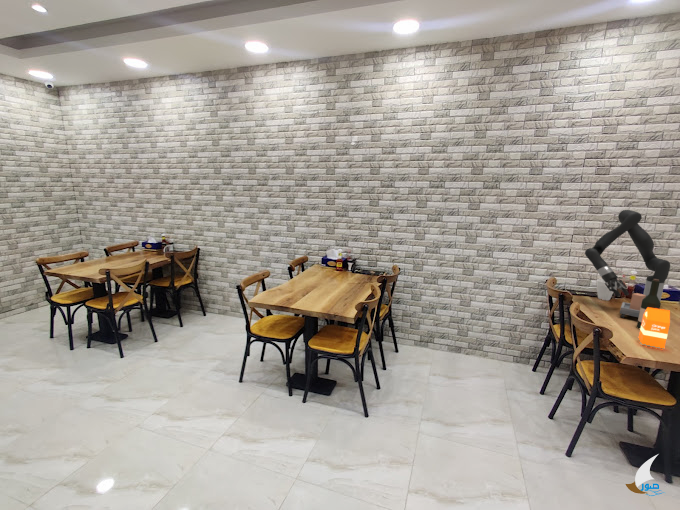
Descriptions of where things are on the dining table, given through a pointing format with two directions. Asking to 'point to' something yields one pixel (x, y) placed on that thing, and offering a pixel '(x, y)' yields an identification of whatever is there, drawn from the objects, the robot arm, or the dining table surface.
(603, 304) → the dining table surface
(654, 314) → the orange juice
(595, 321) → the dining table surface
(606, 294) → the cup
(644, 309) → the wine bottle
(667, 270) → the robot arm
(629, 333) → the dining table surface
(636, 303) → the terracotta block
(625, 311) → the grey square tray
